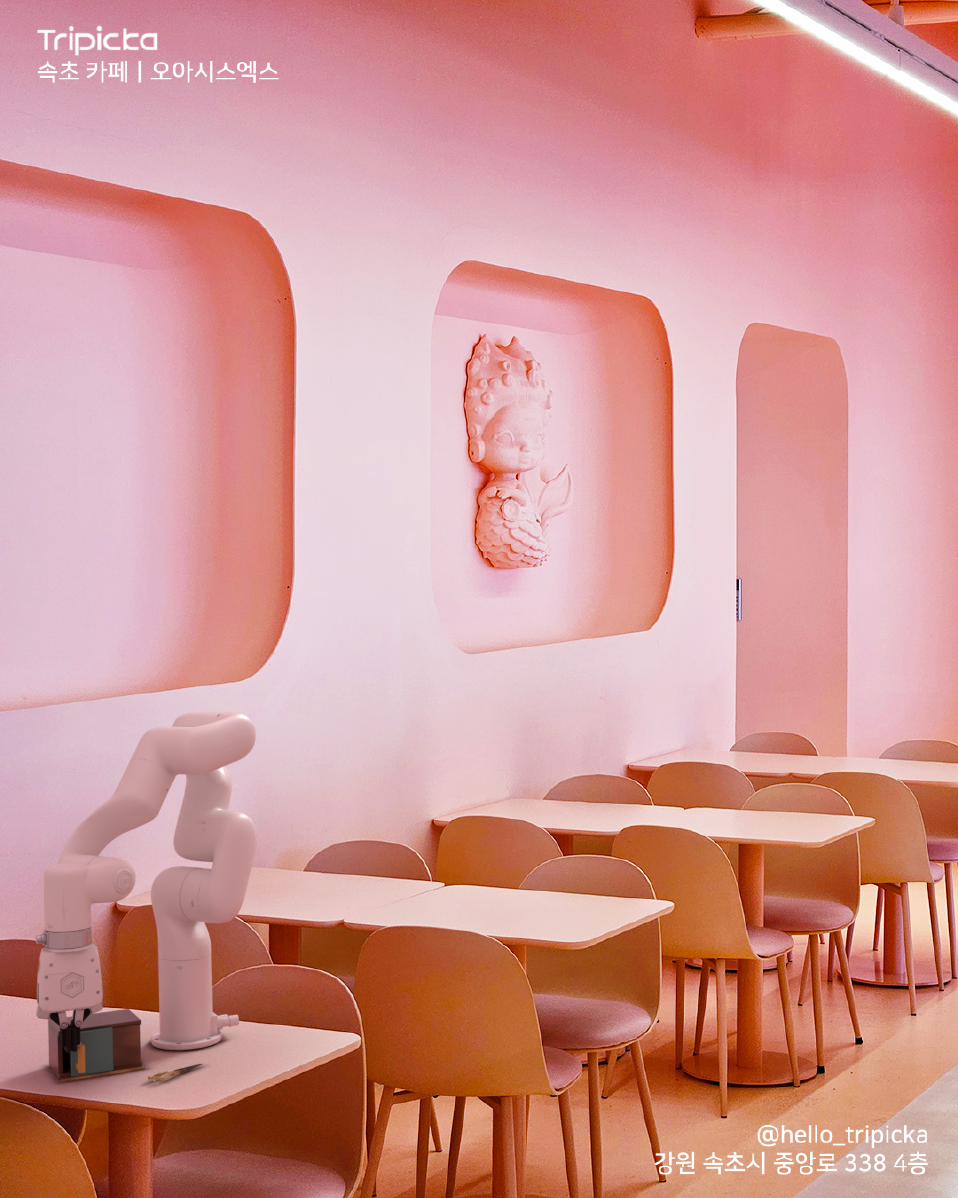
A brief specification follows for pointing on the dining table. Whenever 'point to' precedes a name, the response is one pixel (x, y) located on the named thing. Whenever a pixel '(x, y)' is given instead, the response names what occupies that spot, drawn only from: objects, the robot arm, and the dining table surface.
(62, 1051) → the cupboard
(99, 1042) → the door
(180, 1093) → the dining table surface
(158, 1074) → the tan slender tapered piece
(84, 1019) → the robot arm
